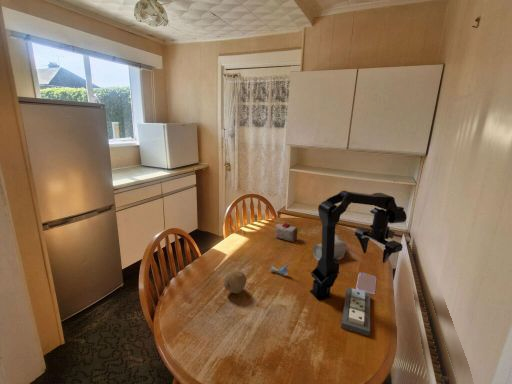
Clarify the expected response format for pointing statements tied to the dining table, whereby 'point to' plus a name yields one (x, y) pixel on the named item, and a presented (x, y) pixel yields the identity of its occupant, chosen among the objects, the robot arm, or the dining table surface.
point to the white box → (286, 232)
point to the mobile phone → (366, 283)
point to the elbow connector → (338, 249)
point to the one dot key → (358, 294)
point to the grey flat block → (366, 328)
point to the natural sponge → (235, 281)
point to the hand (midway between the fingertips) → (374, 257)
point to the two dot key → (356, 317)
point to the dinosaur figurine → (280, 270)
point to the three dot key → (357, 304)
